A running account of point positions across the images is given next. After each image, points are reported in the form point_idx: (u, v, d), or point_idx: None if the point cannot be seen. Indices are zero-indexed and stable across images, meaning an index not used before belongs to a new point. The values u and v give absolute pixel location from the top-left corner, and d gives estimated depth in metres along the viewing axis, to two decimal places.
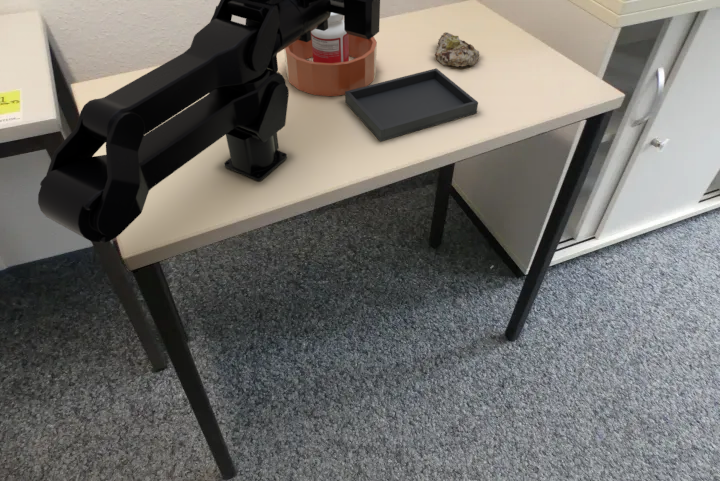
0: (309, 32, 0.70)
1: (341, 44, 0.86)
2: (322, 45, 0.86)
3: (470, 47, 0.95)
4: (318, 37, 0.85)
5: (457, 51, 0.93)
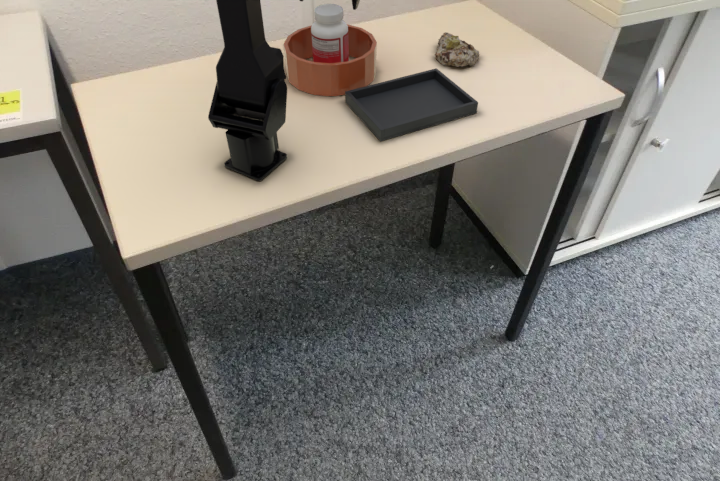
0: None
1: (341, 44, 0.86)
2: (322, 45, 0.86)
3: (470, 47, 0.95)
4: (318, 37, 0.85)
5: (457, 51, 0.93)
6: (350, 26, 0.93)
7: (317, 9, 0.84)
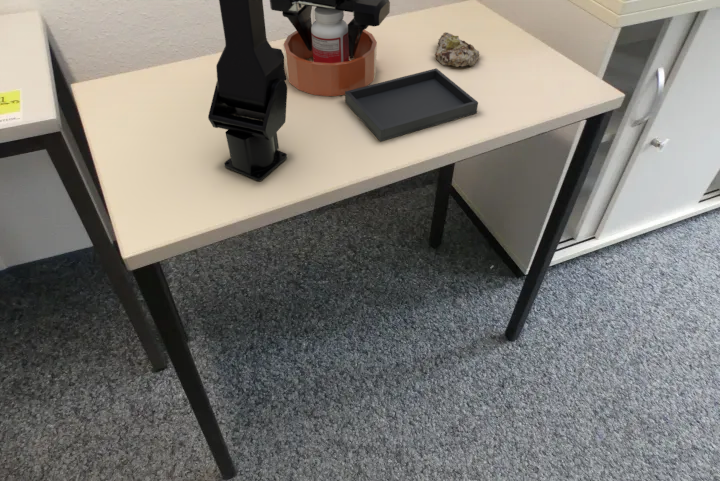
0: None
1: (342, 44, 0.86)
2: (323, 45, 0.86)
3: (470, 47, 0.95)
4: (318, 37, 0.85)
5: (457, 51, 0.93)
6: None
7: (317, 9, 0.85)
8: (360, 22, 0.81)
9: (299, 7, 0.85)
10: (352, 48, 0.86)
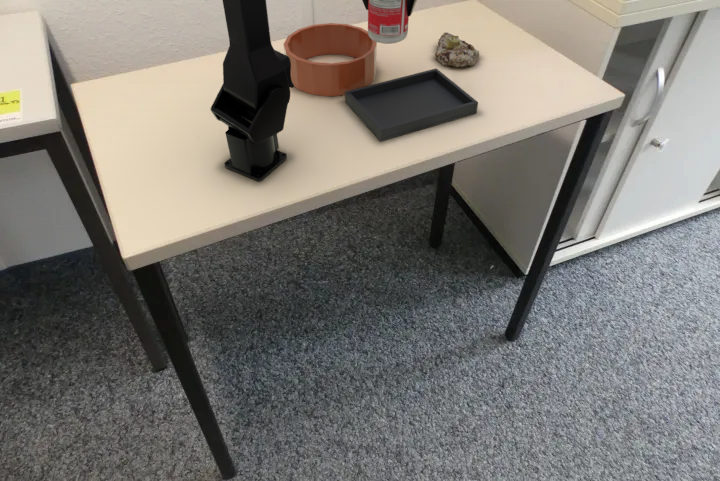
0: None
1: (404, 0, 0.76)
2: (383, 1, 0.75)
3: (470, 47, 0.95)
4: None
5: (457, 51, 0.93)
6: (350, 26, 0.93)
7: None
8: None
9: None
10: (412, 3, 0.76)
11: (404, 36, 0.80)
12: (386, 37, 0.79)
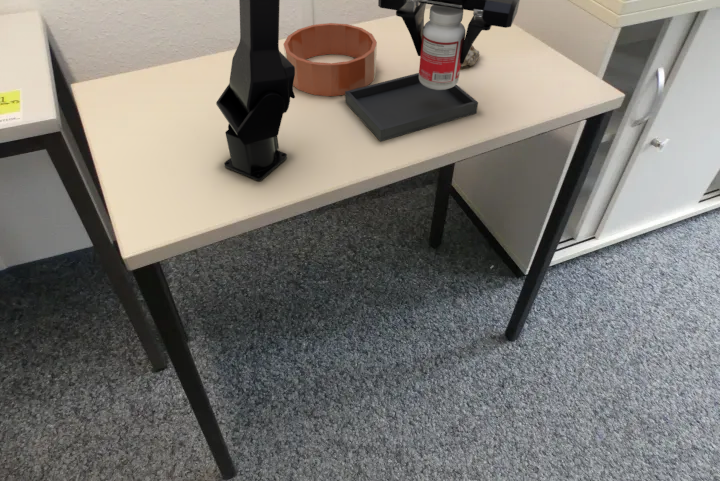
0: None
1: (458, 49, 0.76)
2: (437, 50, 0.75)
3: None
4: (434, 41, 0.74)
5: None
6: (350, 26, 0.93)
7: (433, 8, 0.74)
8: (489, 22, 0.70)
9: (416, 5, 0.74)
10: (466, 52, 0.75)
11: (456, 82, 0.80)
12: (438, 84, 0.79)
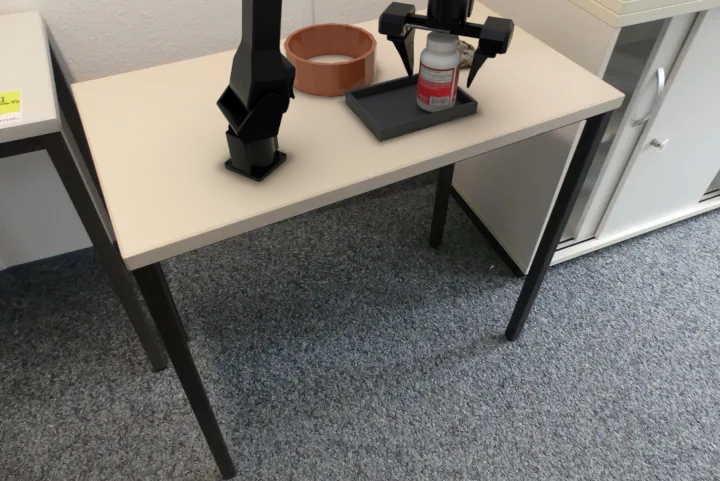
0: None
1: (454, 75, 0.78)
2: (434, 76, 0.78)
3: (470, 47, 0.95)
4: (431, 67, 0.77)
5: None
6: (350, 26, 0.93)
7: (430, 36, 0.76)
8: (485, 49, 0.72)
9: (405, 30, 0.77)
10: (472, 77, 0.78)
11: (453, 105, 0.82)
12: (435, 107, 0.81)
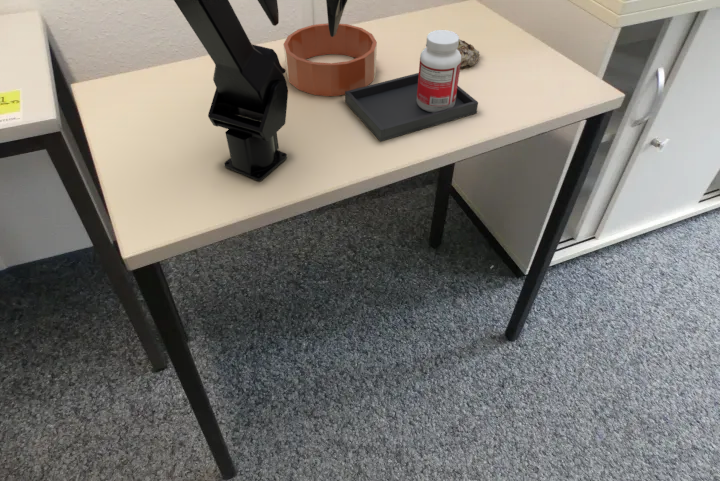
0: None
1: (454, 75, 0.78)
2: (434, 76, 0.78)
3: (470, 47, 0.95)
4: (431, 67, 0.77)
5: None
6: (350, 26, 0.93)
7: (430, 36, 0.76)
8: None
9: None
10: (332, 23, 0.71)
11: (453, 105, 0.82)
12: (435, 107, 0.81)
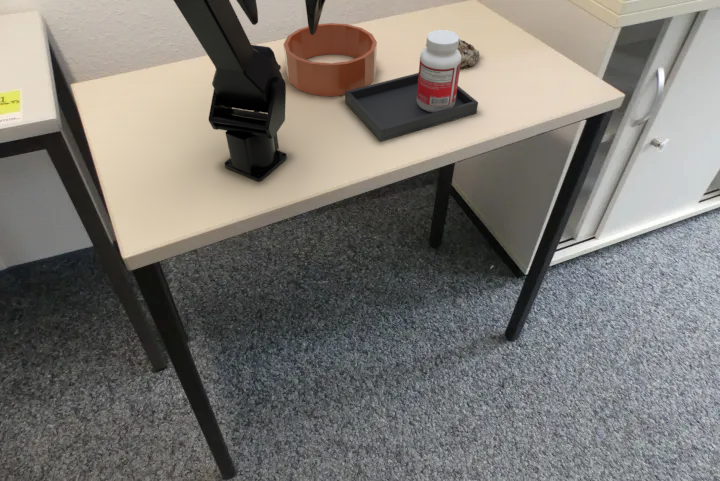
0: None
1: (454, 75, 0.78)
2: (434, 76, 0.78)
3: (470, 47, 0.95)
4: (431, 67, 0.77)
5: None
6: (350, 26, 0.93)
7: (430, 36, 0.76)
8: None
9: None
10: (312, 22, 0.71)
11: (453, 105, 0.82)
12: (435, 107, 0.81)
